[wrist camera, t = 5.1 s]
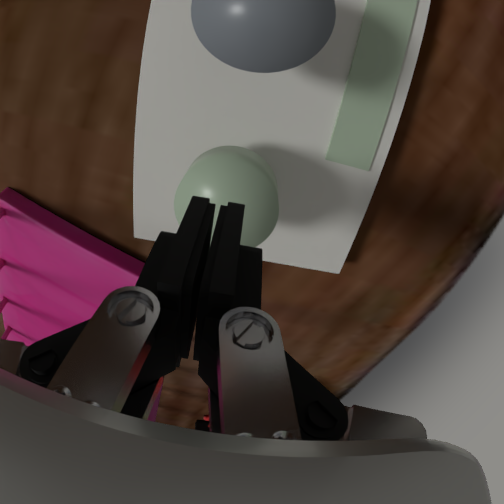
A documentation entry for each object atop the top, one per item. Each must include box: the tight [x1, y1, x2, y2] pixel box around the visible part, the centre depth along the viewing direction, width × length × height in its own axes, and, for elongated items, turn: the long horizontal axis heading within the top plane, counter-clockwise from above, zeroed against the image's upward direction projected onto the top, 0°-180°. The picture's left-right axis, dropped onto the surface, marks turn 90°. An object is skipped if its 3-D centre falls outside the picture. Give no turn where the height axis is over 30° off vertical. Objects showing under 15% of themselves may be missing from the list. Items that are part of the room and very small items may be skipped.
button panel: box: [133, 0, 431, 274], centre depth 12 cm, size 26×13×2 cm, turn 169°
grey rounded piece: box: [191, 0, 336, 73], centre depth 9 cm, size 4×4×4 cm
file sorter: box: [0, 187, 163, 422], centre depth 21 cm, size 17×25×16 cm
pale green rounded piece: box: [174, 146, 279, 247], centre depth 14 cm, size 4×4×4 cm
